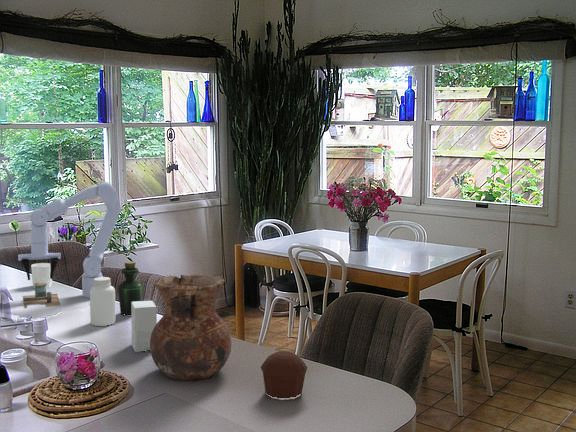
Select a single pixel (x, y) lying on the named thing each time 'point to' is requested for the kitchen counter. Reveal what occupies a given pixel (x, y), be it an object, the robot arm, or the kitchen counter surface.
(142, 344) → the small box
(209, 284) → the jug
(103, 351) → the kitchen counter surface
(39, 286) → the spool
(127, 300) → the potion bottle
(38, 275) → the white cup
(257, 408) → the kitchen counter surface
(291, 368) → the muffin
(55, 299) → the hook board
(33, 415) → the kitchen counter surface
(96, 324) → the pill bottle
